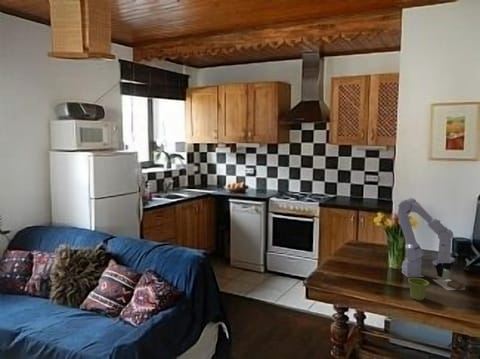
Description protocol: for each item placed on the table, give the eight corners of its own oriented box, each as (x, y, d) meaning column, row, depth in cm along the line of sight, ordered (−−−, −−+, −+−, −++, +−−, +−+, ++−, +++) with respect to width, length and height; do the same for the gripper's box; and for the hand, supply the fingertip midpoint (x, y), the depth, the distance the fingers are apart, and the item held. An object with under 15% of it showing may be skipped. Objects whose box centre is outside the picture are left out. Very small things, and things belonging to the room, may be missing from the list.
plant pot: (422, 294, 202) (423, 277, 201) (431, 302, 193) (432, 284, 192) (403, 294, 202) (404, 277, 201) (412, 302, 193) (413, 285, 192)
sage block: (443, 280, 214) (443, 271, 214) (436, 277, 218) (437, 269, 217) (448, 279, 216) (448, 270, 215) (441, 276, 220) (442, 268, 219)
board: (447, 291, 206) (447, 289, 206) (432, 280, 220) (432, 279, 220) (465, 290, 207) (465, 289, 207) (449, 280, 221) (449, 279, 221)
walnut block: (457, 289, 206) (457, 285, 206) (447, 285, 211) (447, 281, 211) (465, 288, 208) (465, 283, 208) (454, 283, 214) (455, 279, 214)
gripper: (441, 255, 208) (439, 280, 210) (460, 252, 214) (458, 276, 216) (430, 251, 215) (428, 275, 217) (448, 248, 221) (446, 272, 223)
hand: (442, 275), depth 217 cm, fingers closed on sage block, 4 cm apart
